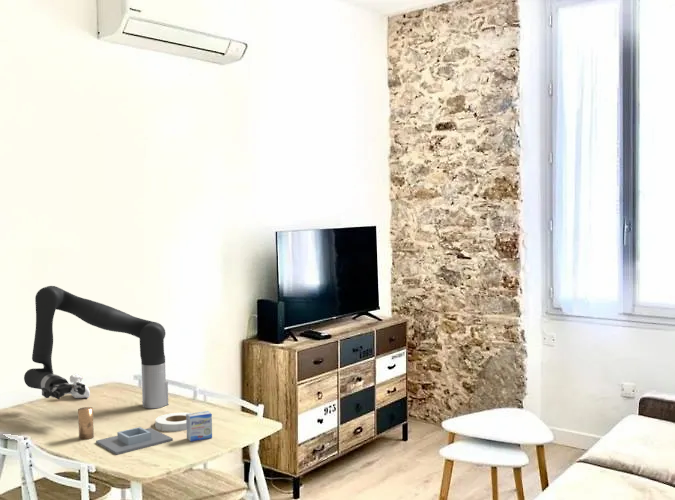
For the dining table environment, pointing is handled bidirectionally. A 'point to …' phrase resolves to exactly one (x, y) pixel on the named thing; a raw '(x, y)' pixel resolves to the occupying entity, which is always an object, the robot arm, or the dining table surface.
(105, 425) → the dining table surface
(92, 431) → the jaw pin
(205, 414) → the medicine box
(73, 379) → the duck figurine
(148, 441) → the housing
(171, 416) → the roll of tape
